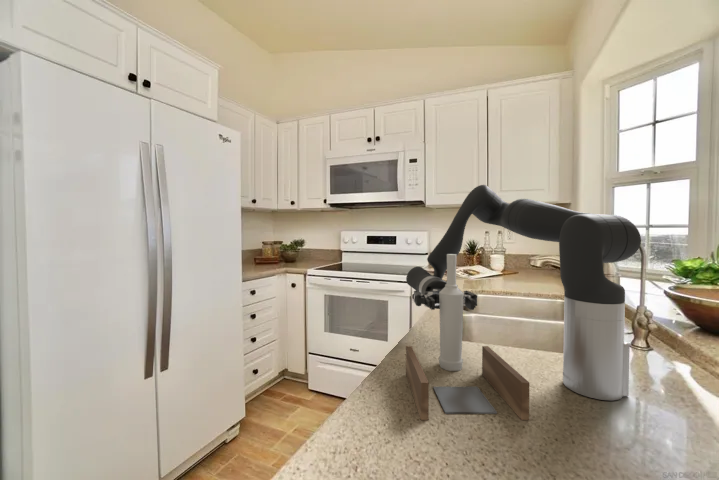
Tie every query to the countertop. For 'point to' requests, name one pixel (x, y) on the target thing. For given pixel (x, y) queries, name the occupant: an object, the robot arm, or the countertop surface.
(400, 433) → the countertop surface
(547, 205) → the robot arm
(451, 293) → the bottle
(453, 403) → the arena
